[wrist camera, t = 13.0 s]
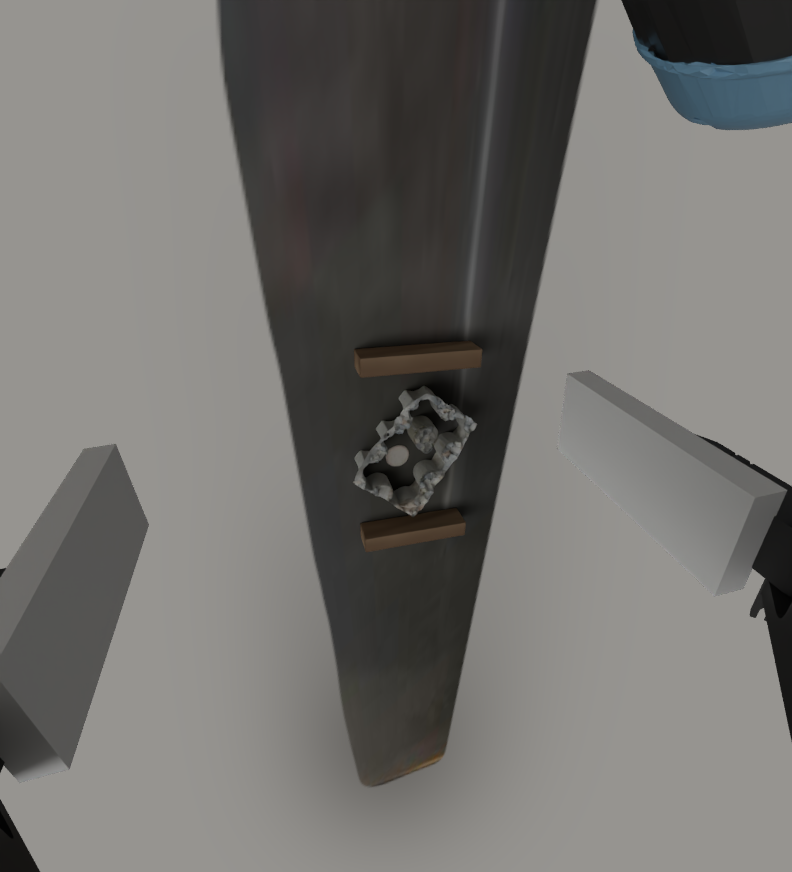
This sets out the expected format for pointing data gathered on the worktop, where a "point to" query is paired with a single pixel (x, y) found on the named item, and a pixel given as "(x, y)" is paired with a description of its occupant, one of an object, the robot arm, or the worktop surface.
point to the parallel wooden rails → (406, 362)
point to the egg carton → (425, 440)
